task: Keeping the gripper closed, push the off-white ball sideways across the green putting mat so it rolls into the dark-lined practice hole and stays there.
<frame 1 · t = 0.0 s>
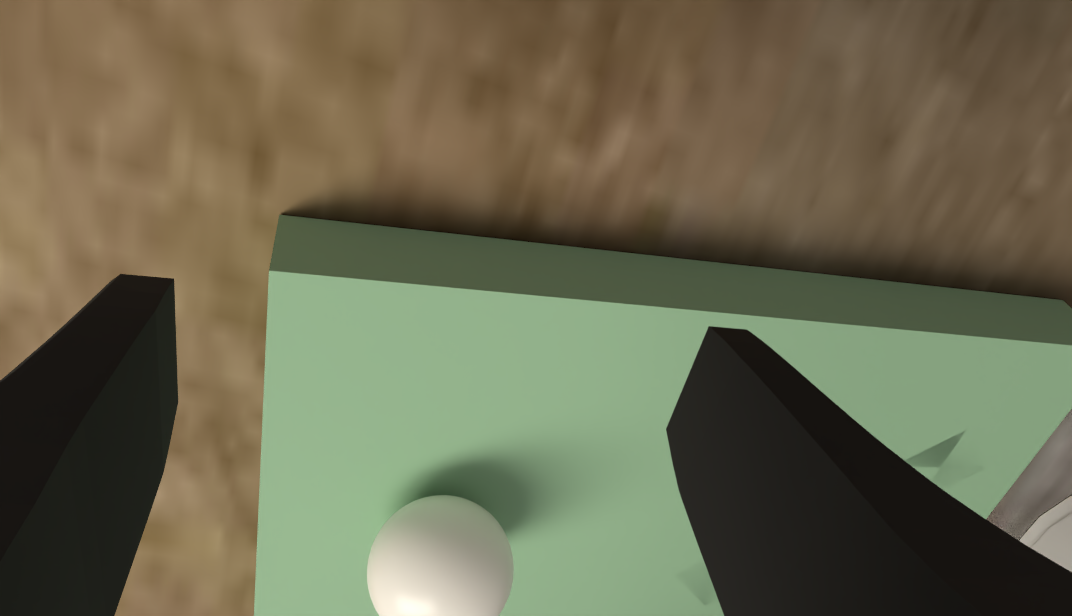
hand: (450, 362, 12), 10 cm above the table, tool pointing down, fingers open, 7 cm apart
ball: (441, 569, 23), point 4 cm above the table, touching putting mat
putting mat: (639, 459, 28), on the table
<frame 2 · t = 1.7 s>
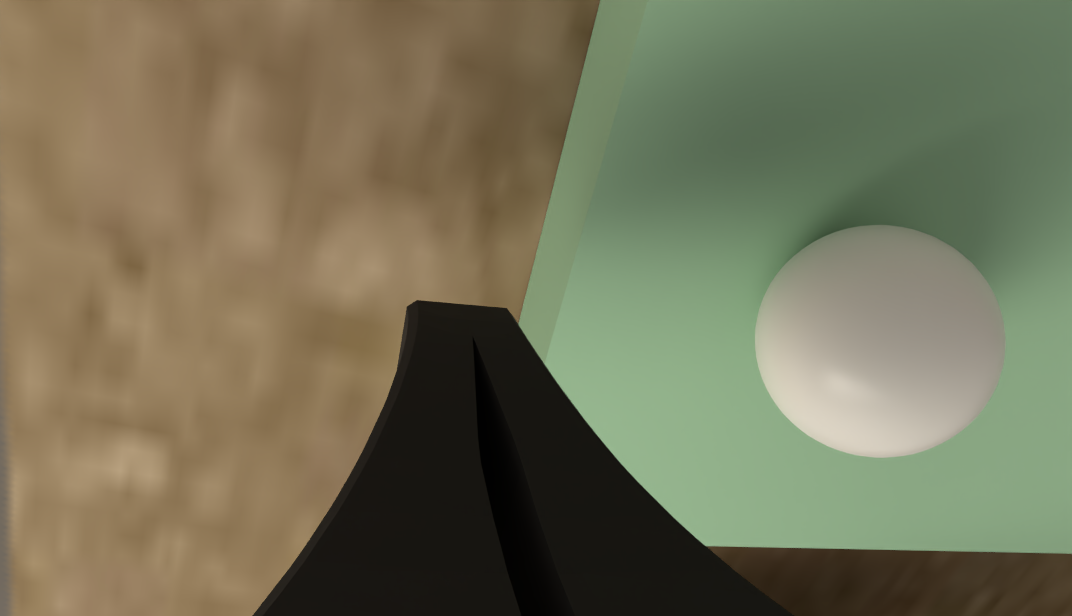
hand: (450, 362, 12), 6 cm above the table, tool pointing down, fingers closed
ball: (873, 340, 15), point 4 cm above the table, touching putting mat
putting mat: (1043, 245, 20), on the table
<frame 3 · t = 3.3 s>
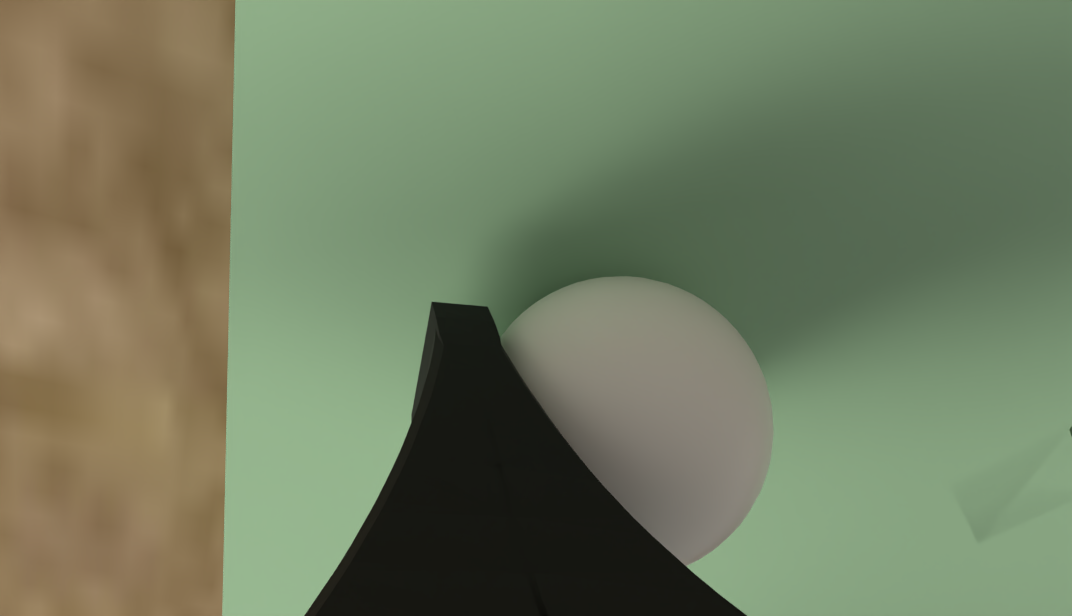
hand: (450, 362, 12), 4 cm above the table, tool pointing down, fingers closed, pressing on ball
ball: (620, 423, 11), point 4 cm above the table, tilted 8°, touching gripper, putting mat
putting mat: (889, 288, 17), on the table
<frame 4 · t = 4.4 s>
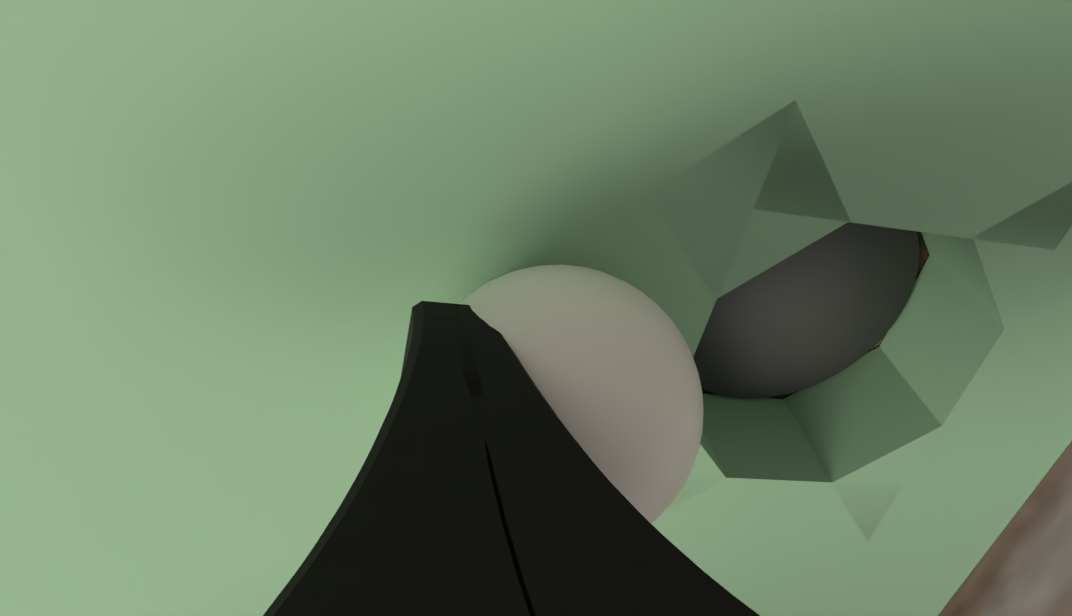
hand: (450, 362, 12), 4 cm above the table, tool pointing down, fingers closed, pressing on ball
ball: (557, 408, 12), point 4 cm above the table, tilted 143°, touching gripper, putting mat
putting mat: (490, 257, 15), on the table
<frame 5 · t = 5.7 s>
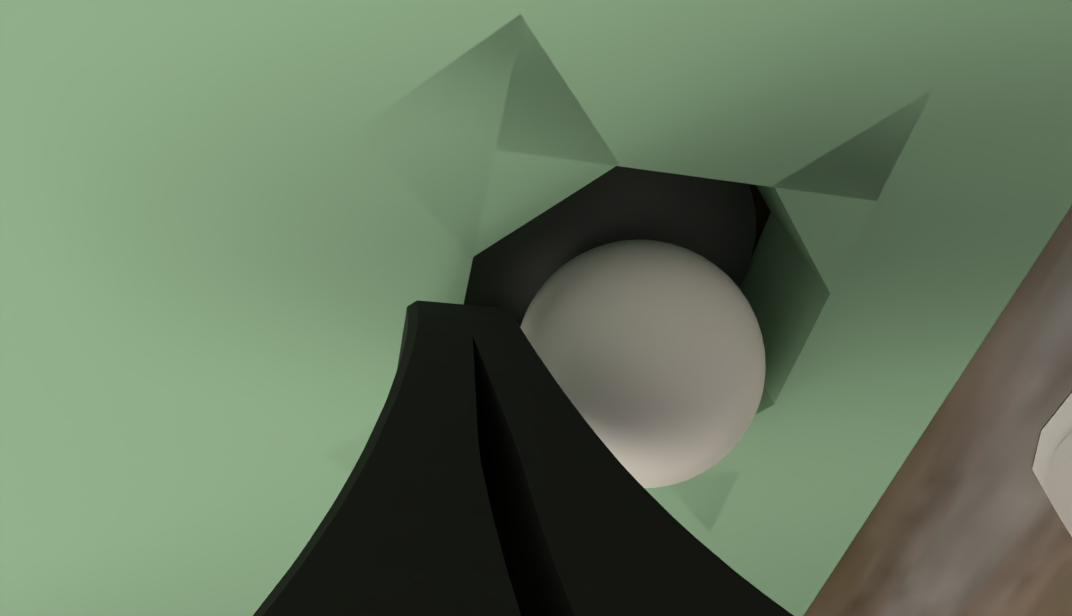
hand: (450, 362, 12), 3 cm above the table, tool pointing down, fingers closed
ball: (638, 362, 14), point 2 cm above the table, tilted 66°, touching putting mat
putting mat: (250, 212, 14), on the table
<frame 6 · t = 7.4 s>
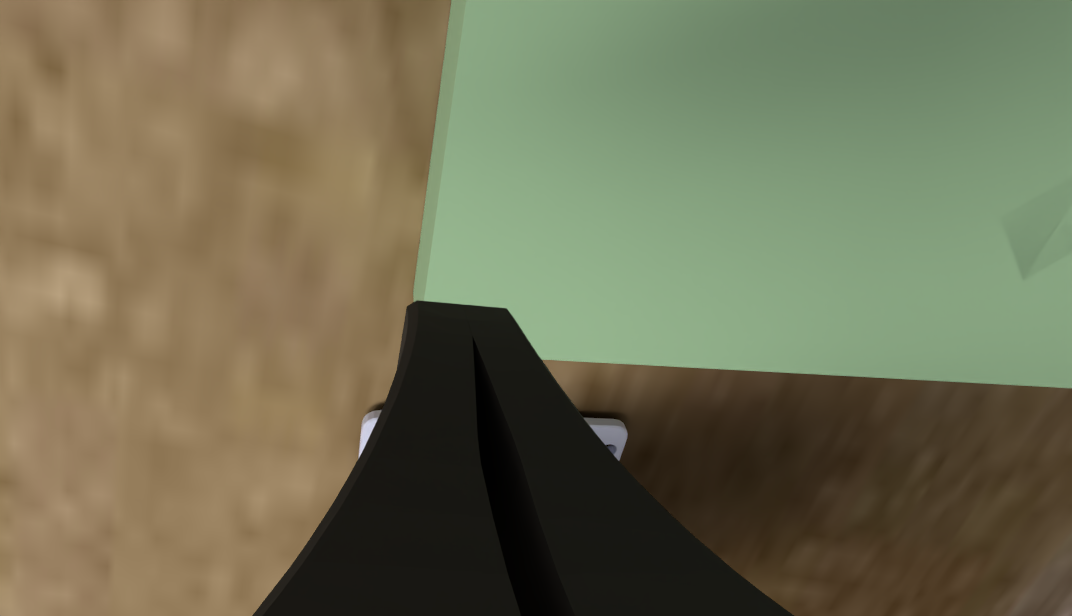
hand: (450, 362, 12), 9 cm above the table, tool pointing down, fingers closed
putting mat: (946, 58, 20), on the table
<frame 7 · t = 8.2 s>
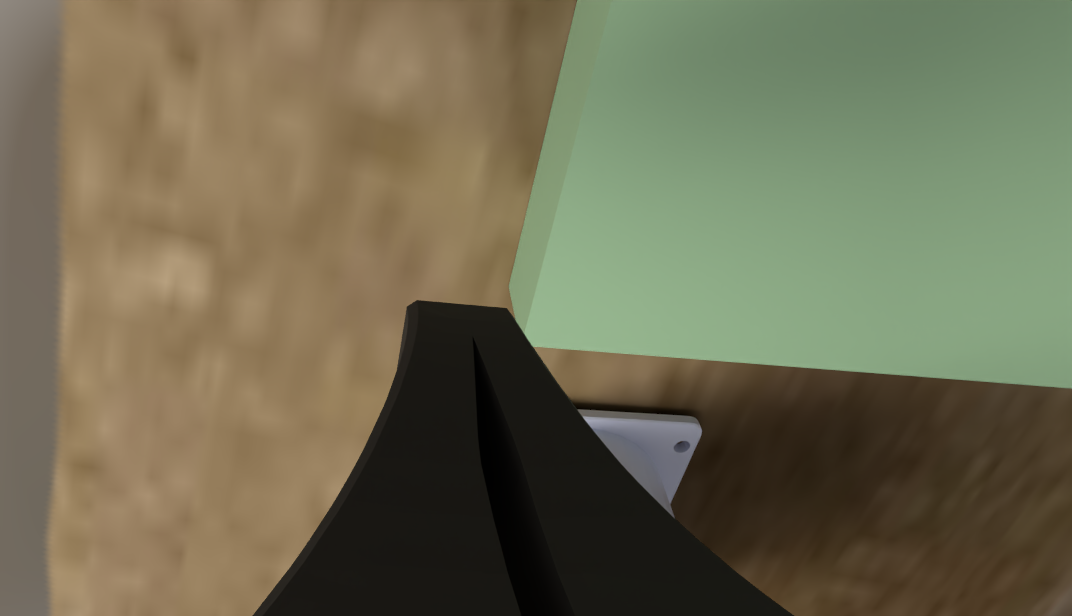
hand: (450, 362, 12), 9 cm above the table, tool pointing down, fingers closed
putting mat: (1041, 69, 21), on the table
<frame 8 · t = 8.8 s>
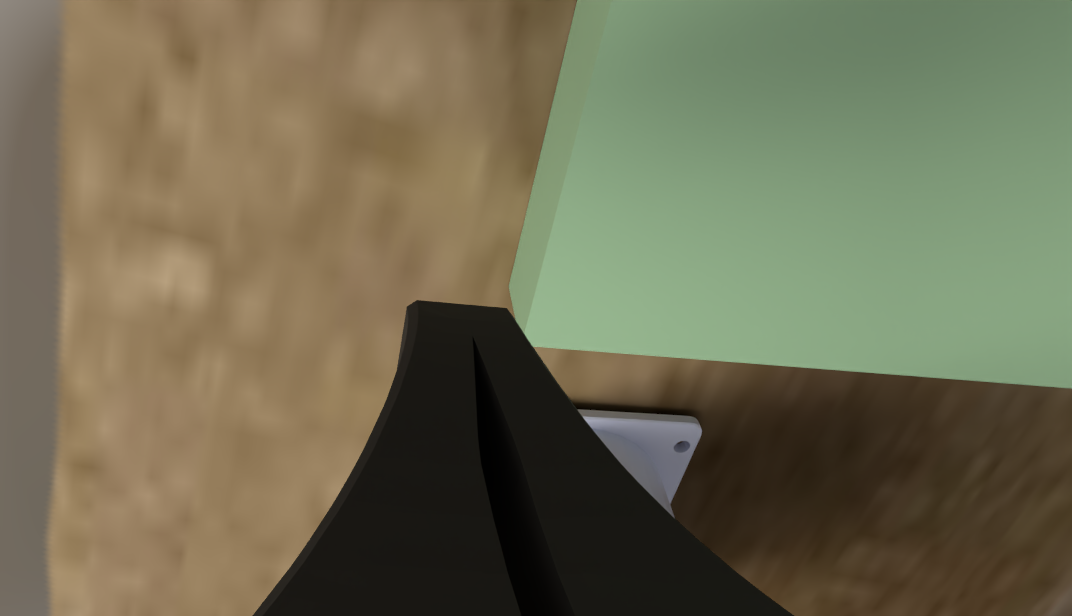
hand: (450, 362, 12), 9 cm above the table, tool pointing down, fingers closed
putting mat: (1041, 69, 21), on the table
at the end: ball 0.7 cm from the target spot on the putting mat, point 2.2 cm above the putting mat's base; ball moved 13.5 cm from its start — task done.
